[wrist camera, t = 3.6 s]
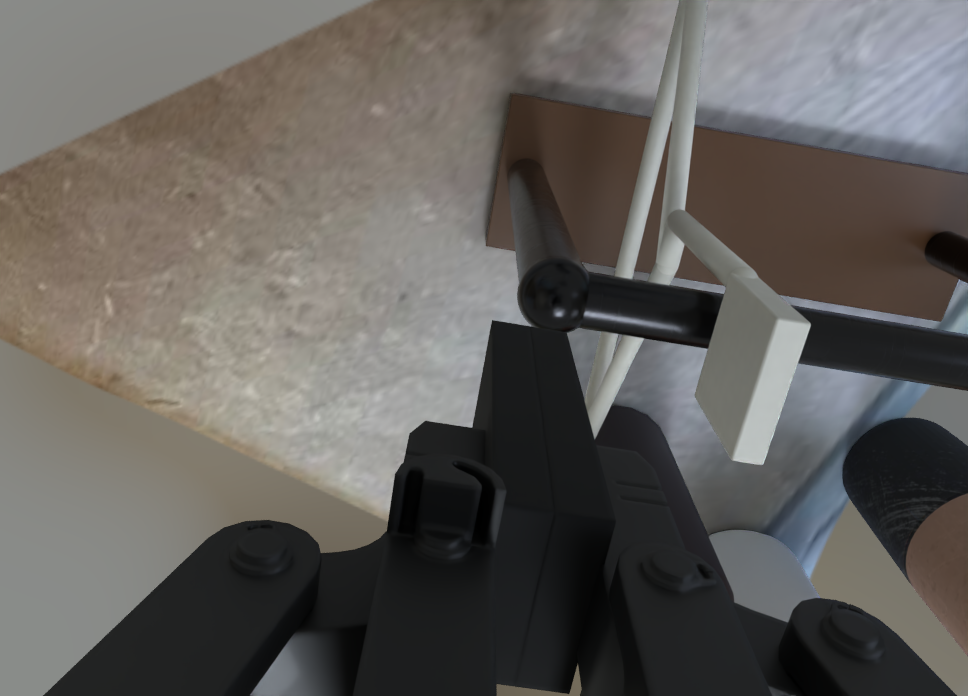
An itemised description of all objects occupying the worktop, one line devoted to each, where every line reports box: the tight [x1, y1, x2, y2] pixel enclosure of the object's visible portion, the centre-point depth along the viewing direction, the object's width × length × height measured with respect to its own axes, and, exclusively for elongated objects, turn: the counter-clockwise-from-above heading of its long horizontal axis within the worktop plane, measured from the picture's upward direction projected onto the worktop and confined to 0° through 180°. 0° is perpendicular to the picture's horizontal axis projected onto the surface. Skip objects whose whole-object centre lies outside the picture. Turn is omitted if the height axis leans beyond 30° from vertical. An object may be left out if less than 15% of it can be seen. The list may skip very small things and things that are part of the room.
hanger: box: [585, 0, 811, 465], centre depth 26 cm, size 23×1×18 cm, turn 170°
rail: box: [486, 93, 968, 391], centre depth 32 cm, size 8×26×23 cm, turn 80°
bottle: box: [595, 406, 734, 602], centre depth 39 cm, size 7×7×20 cm
